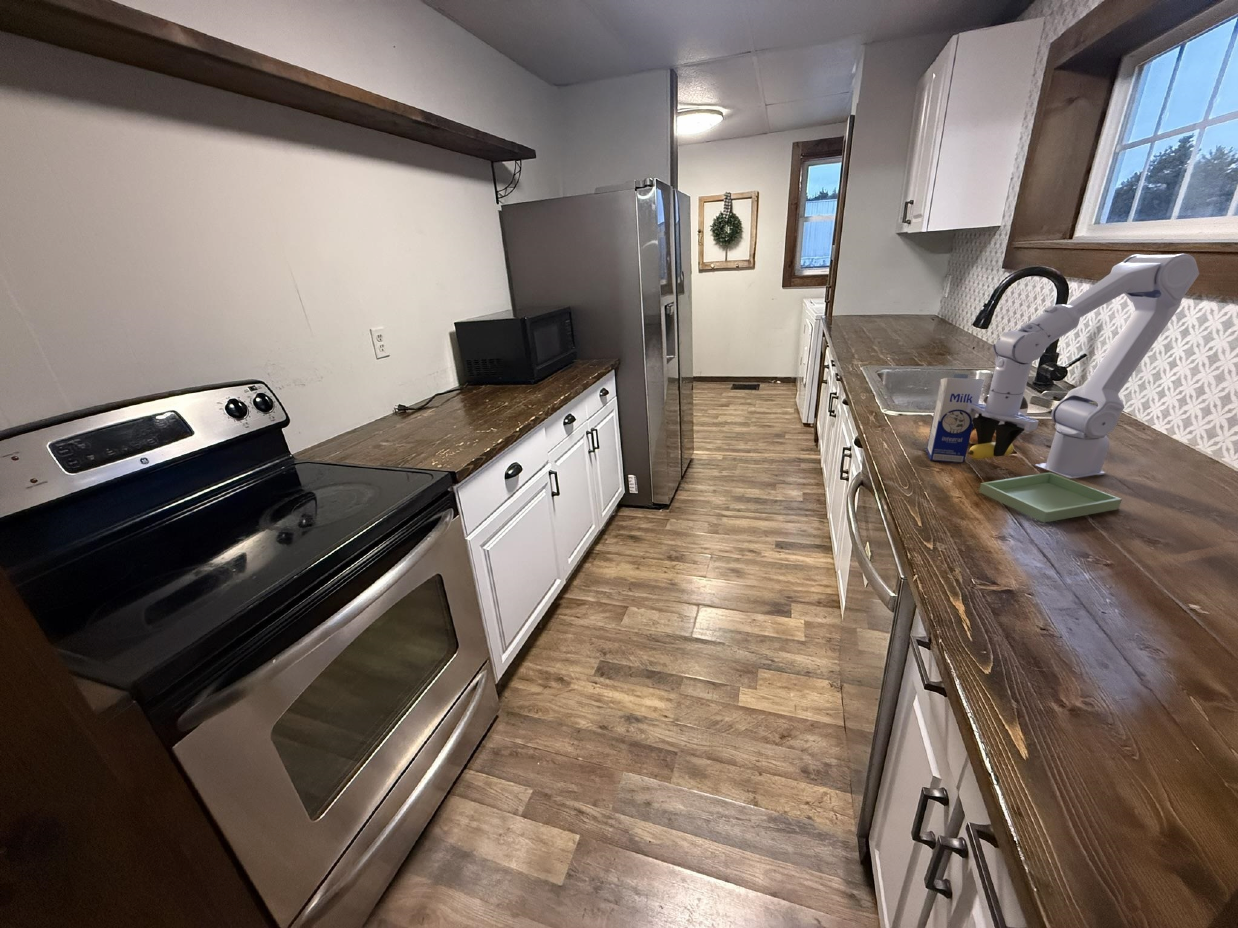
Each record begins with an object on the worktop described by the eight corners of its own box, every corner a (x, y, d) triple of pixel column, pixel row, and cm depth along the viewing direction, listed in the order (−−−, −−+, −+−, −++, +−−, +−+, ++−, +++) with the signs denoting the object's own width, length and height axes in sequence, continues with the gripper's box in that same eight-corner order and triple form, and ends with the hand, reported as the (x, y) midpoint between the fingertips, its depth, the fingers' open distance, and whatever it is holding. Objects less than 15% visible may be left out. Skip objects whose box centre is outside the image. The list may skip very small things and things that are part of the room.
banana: (1001, 451, 110) (1005, 438, 109) (1015, 456, 107) (1019, 442, 106) (960, 457, 108) (964, 443, 107) (973, 462, 105) (977, 448, 104)
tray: (1046, 483, 104) (1050, 471, 103) (1117, 511, 92) (1122, 499, 91) (978, 494, 101) (981, 482, 100) (1042, 525, 89) (1046, 512, 88)
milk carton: (929, 460, 118) (947, 377, 110) (925, 450, 123) (941, 370, 116) (964, 463, 115) (985, 378, 107) (958, 453, 121) (977, 372, 113)
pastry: (991, 450, 122) (995, 435, 120) (960, 444, 127) (963, 429, 125) (1004, 441, 127) (1008, 426, 125) (974, 435, 132) (977, 421, 130)
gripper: (960, 385, 108) (947, 443, 113) (1024, 401, 95) (1006, 467, 100) (987, 382, 109) (973, 440, 114) (1054, 398, 96) (1035, 462, 101)
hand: (990, 452), depth 107 cm, fingers closed on banana, 3 cm apart
